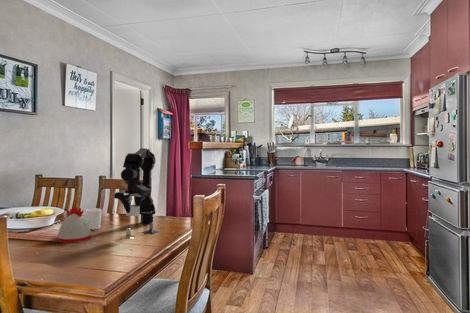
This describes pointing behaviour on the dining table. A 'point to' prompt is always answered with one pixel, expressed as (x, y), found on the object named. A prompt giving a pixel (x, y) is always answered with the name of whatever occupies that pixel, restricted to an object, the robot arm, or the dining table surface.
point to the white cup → (93, 218)
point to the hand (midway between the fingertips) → (132, 211)
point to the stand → (150, 230)
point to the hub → (128, 234)
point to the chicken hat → (74, 227)
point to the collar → (134, 210)
